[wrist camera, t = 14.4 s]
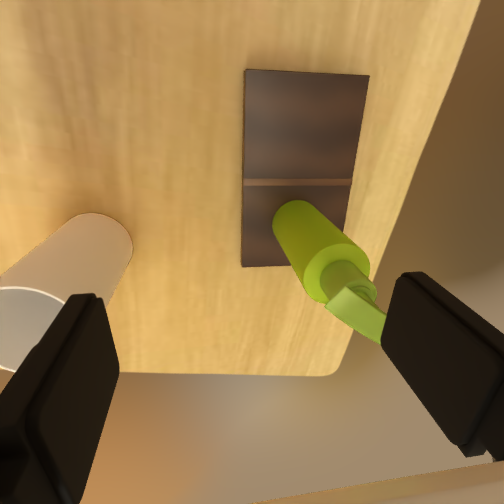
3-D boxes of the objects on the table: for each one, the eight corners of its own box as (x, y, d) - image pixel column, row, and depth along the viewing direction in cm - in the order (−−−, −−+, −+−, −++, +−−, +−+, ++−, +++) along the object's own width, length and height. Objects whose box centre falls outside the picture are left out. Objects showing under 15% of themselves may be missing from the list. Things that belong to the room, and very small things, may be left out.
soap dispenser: (286, 185, 35) (372, 264, 17) (327, 217, 37) (440, 317, 19) (256, 224, 36) (304, 335, 18) (297, 253, 39) (375, 375, 21)
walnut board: (243, 70, 31) (245, 68, 29) (363, 76, 32) (370, 75, 31) (240, 262, 40) (241, 267, 39) (333, 258, 42) (337, 264, 40)
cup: (141, 227, 36) (99, 304, 22) (123, 282, 39) (75, 383, 25) (67, 202, 34) (-35, 270, 19) (53, 263, 37) (-44, 362, 22)
